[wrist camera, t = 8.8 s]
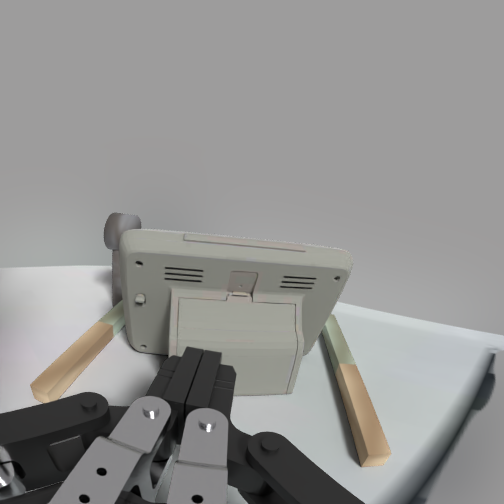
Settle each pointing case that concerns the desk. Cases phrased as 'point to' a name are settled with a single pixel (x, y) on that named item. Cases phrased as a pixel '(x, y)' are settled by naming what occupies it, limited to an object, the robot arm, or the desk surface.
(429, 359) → the desk surface
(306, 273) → the digital clock
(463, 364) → the desk surface
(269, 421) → the desk surface
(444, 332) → the desk surface
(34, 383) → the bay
